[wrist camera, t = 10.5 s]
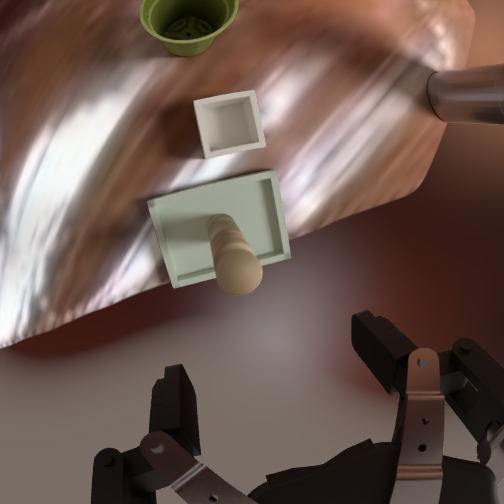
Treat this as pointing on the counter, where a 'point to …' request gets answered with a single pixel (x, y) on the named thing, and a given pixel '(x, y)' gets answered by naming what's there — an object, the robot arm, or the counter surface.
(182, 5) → the plant pot
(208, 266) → the tray
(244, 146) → the white open box
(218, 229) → the dowel
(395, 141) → the counter surface
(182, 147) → the counter surface
